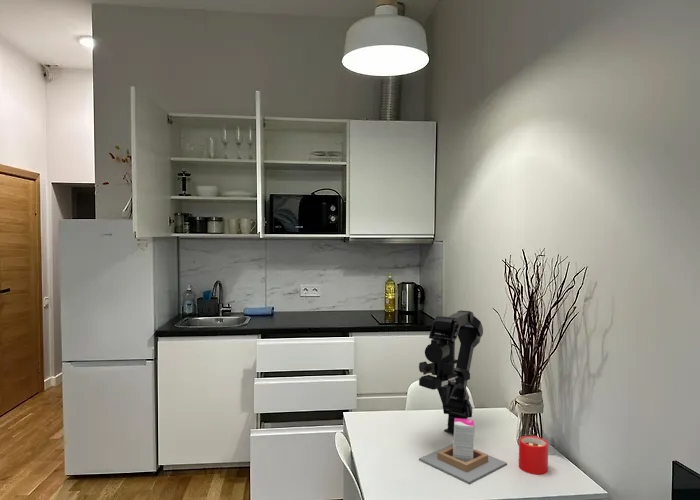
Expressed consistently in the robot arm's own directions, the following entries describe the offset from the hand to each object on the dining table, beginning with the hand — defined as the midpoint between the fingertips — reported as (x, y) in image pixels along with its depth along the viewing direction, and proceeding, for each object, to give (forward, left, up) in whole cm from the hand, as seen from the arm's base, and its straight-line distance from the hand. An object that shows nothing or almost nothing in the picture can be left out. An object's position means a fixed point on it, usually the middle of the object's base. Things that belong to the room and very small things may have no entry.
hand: (444, 404), depth 154 cm
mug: (-10, +25, -13) cm, 30 cm away
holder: (+5, +11, -13) cm, 18 cm away
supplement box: (+5, +11, -13) cm, 17 cm away
